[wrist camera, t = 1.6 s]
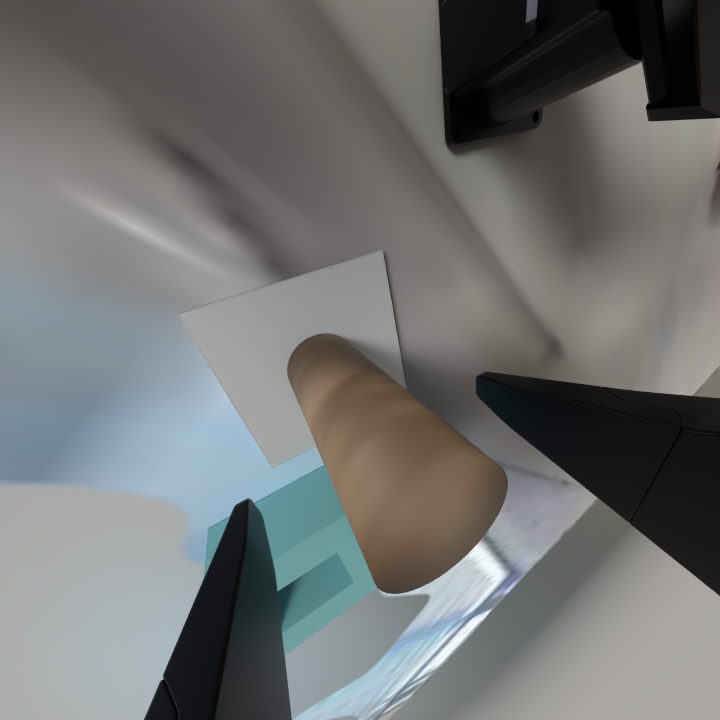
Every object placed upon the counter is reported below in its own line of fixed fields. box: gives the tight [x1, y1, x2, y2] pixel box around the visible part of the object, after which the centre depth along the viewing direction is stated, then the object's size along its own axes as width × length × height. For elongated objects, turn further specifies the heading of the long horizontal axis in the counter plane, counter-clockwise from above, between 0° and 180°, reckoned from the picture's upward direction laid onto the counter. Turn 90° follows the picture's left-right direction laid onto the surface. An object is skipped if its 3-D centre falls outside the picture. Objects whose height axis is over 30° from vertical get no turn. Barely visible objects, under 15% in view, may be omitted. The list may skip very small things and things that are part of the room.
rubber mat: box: [178, 250, 407, 468], centre depth 15 cm, size 10×10×1 cm
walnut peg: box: [287, 333, 508, 594], centre depth 10 cm, size 4×4×10 cm
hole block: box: [204, 465, 377, 655], centre depth 19 cm, size 16×10×4 cm, turn 105°
